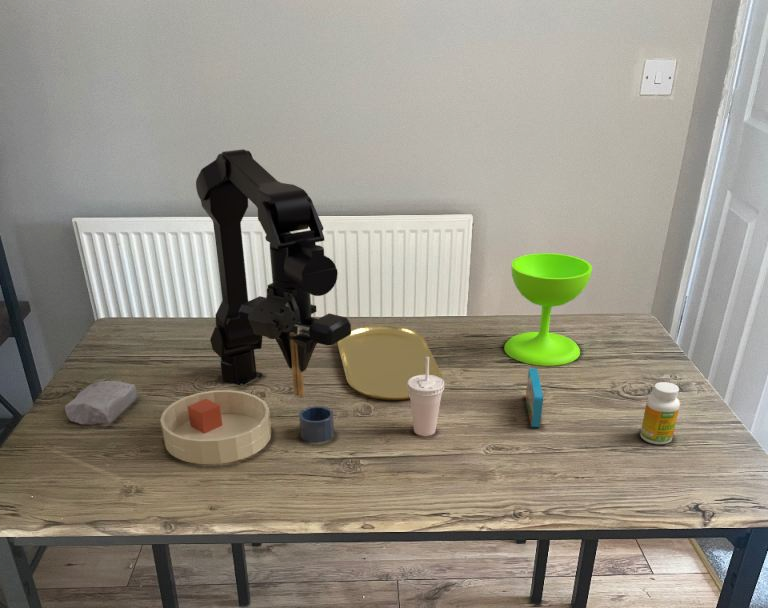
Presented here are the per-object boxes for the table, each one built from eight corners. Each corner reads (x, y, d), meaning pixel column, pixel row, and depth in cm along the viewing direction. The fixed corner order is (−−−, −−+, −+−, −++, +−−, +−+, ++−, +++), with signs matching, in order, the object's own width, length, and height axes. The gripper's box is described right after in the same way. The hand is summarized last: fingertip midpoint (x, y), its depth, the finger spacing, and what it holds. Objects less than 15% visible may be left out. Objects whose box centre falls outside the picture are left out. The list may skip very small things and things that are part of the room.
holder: (313, 425, 144) (312, 403, 141) (340, 434, 141) (340, 411, 139) (293, 439, 140) (292, 416, 137) (321, 448, 137) (319, 425, 135)
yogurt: (525, 397, 152) (528, 367, 149) (533, 397, 152) (536, 367, 149) (531, 428, 143) (534, 397, 139) (539, 428, 143) (543, 397, 139)
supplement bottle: (655, 448, 137) (666, 397, 131) (633, 434, 141) (643, 384, 135) (678, 440, 139) (690, 389, 133) (656, 427, 143) (667, 377, 137)
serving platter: (416, 329, 180) (416, 322, 179) (450, 400, 152) (450, 392, 151) (333, 334, 178) (333, 327, 177) (352, 407, 149) (352, 400, 148)
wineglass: (500, 334, 177) (507, 252, 167) (573, 335, 177) (585, 253, 166) (507, 365, 164) (515, 278, 154) (586, 366, 164) (599, 279, 153)
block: (208, 418, 145) (205, 398, 143) (222, 425, 143) (219, 405, 140) (190, 426, 143) (187, 406, 140) (204, 433, 140) (201, 413, 138)
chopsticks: (296, 392, 136) (291, 331, 130) (306, 396, 135) (302, 334, 129) (292, 395, 136) (287, 333, 129) (302, 398, 135) (298, 336, 128)
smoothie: (446, 426, 143) (450, 353, 135) (437, 443, 138) (439, 369, 130) (412, 421, 145) (413, 348, 137) (401, 437, 140) (402, 363, 132)
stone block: (66, 431, 146) (113, 426, 143) (55, 407, 144) (103, 402, 141) (98, 403, 156) (143, 398, 153) (89, 380, 153) (134, 375, 150)
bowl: (215, 405, 150) (212, 381, 147) (292, 431, 142) (290, 406, 139) (143, 447, 138) (137, 422, 135) (222, 478, 130) (218, 451, 127)
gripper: (209, 280, 123) (222, 373, 131) (306, 303, 114) (312, 402, 123) (257, 260, 130) (266, 350, 139) (351, 281, 122) (354, 375, 131)
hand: (297, 369), depth 133 cm, fingers closed on chopsticks
